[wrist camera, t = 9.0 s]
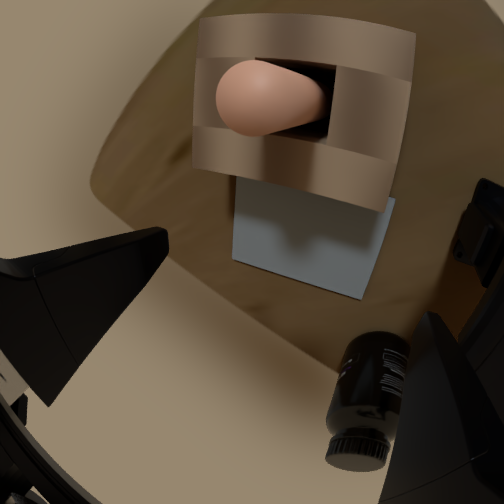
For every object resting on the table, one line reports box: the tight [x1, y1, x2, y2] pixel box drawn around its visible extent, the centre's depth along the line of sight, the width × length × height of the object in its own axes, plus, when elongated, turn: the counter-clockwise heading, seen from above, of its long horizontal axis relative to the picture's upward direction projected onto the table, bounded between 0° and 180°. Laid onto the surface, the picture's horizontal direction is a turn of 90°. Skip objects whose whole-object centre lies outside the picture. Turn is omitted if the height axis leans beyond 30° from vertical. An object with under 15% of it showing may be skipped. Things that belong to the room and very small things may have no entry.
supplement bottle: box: [325, 331, 410, 472], centre depth 20 cm, size 7×7×12 cm
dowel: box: [216, 60, 333, 137], centre depth 13 cm, size 3×3×10 cm
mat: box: [232, 176, 395, 300], centre depth 22 cm, size 12×9×1 cm
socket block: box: [192, 13, 416, 213], centre depth 15 cm, size 12×10×5 cm
